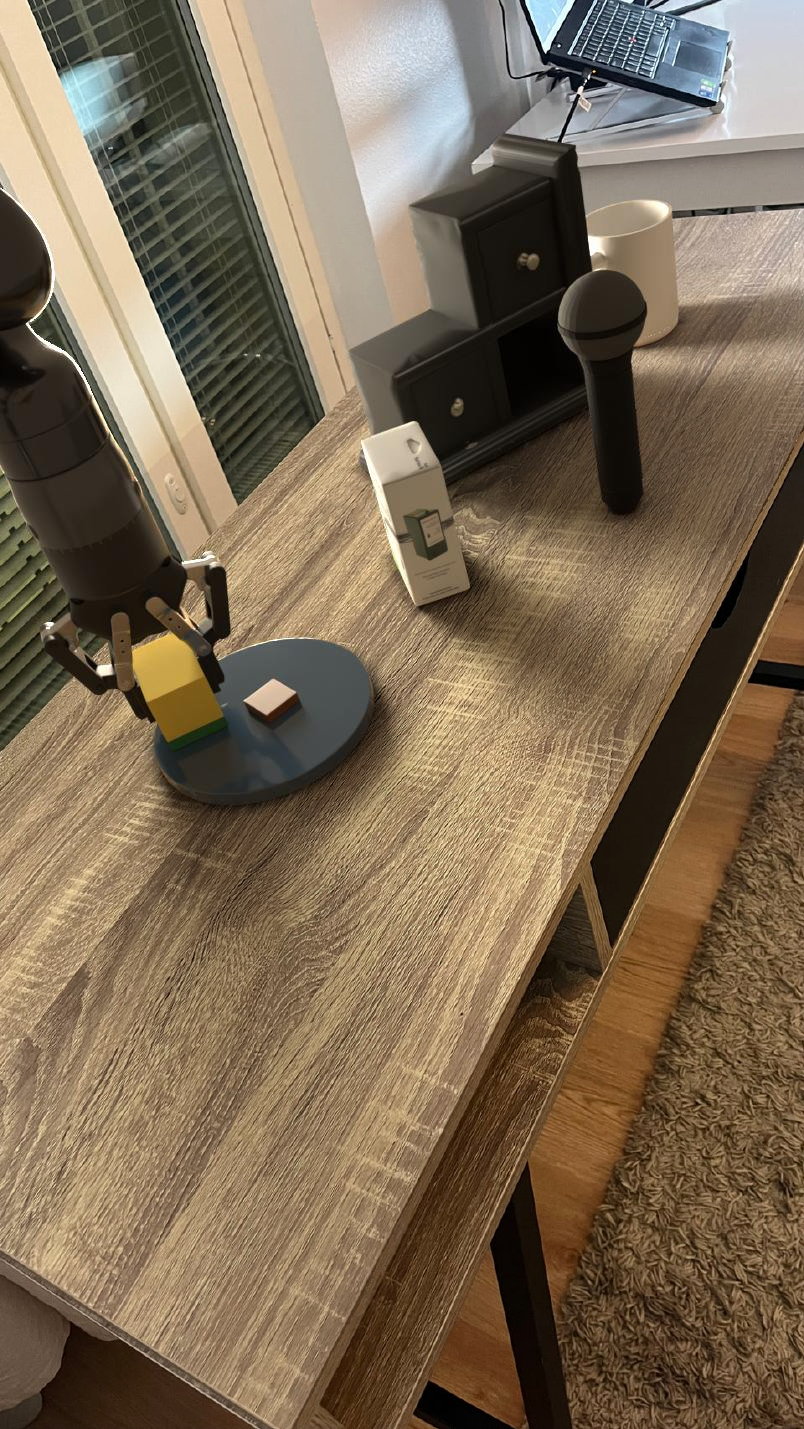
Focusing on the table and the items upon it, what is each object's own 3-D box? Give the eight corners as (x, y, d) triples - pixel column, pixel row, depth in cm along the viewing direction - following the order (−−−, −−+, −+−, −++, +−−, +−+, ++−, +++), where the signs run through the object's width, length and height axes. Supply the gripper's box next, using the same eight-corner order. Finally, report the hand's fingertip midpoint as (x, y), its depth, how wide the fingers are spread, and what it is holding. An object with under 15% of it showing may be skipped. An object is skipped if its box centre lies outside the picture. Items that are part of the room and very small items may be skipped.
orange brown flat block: (269, 723, 79) (266, 716, 78) (246, 708, 81) (243, 701, 80) (300, 700, 80) (297, 692, 80) (276, 686, 82) (273, 678, 82)
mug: (693, 310, 115) (686, 197, 107) (649, 364, 109) (638, 248, 101) (611, 309, 120) (599, 201, 112) (564, 360, 114) (548, 249, 106)
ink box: (391, 556, 94) (356, 436, 86) (445, 538, 94) (414, 416, 86) (415, 609, 87) (379, 483, 79) (472, 589, 87) (443, 462, 80)
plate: (188, 842, 73) (181, 831, 73) (139, 707, 86) (133, 696, 85) (410, 737, 76) (406, 725, 75) (330, 621, 89) (326, 610, 88)
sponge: (172, 752, 79) (146, 703, 76) (152, 700, 84) (127, 652, 81) (228, 726, 80) (205, 676, 77) (205, 676, 85) (182, 628, 82)
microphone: (614, 480, 94) (586, 251, 81) (679, 495, 90) (661, 257, 77) (569, 519, 91) (533, 289, 78) (634, 537, 87) (608, 297, 74)
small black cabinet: (414, 505, 99) (347, 249, 84) (358, 468, 107) (287, 228, 92) (611, 399, 105) (582, 142, 90) (545, 371, 113) (507, 130, 98)
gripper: (175, 448, 74) (255, 638, 85) (-22, 531, 72) (86, 714, 83) (202, 491, 68) (284, 688, 80) (-11, 583, 66) (104, 772, 77)
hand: (183, 700), depth 81 cm, fingers closed on sponge, 4 cm apart
